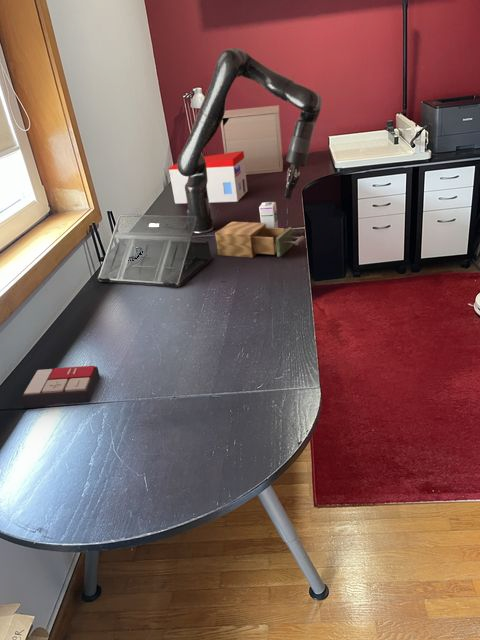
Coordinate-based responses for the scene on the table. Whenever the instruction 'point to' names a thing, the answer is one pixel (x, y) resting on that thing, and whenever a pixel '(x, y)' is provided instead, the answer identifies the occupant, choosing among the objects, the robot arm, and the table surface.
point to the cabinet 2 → (237, 239)
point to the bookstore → (216, 178)
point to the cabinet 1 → (254, 137)
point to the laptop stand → (155, 253)
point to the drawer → (274, 241)
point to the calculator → (61, 386)
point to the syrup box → (269, 214)
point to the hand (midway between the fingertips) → (287, 198)
